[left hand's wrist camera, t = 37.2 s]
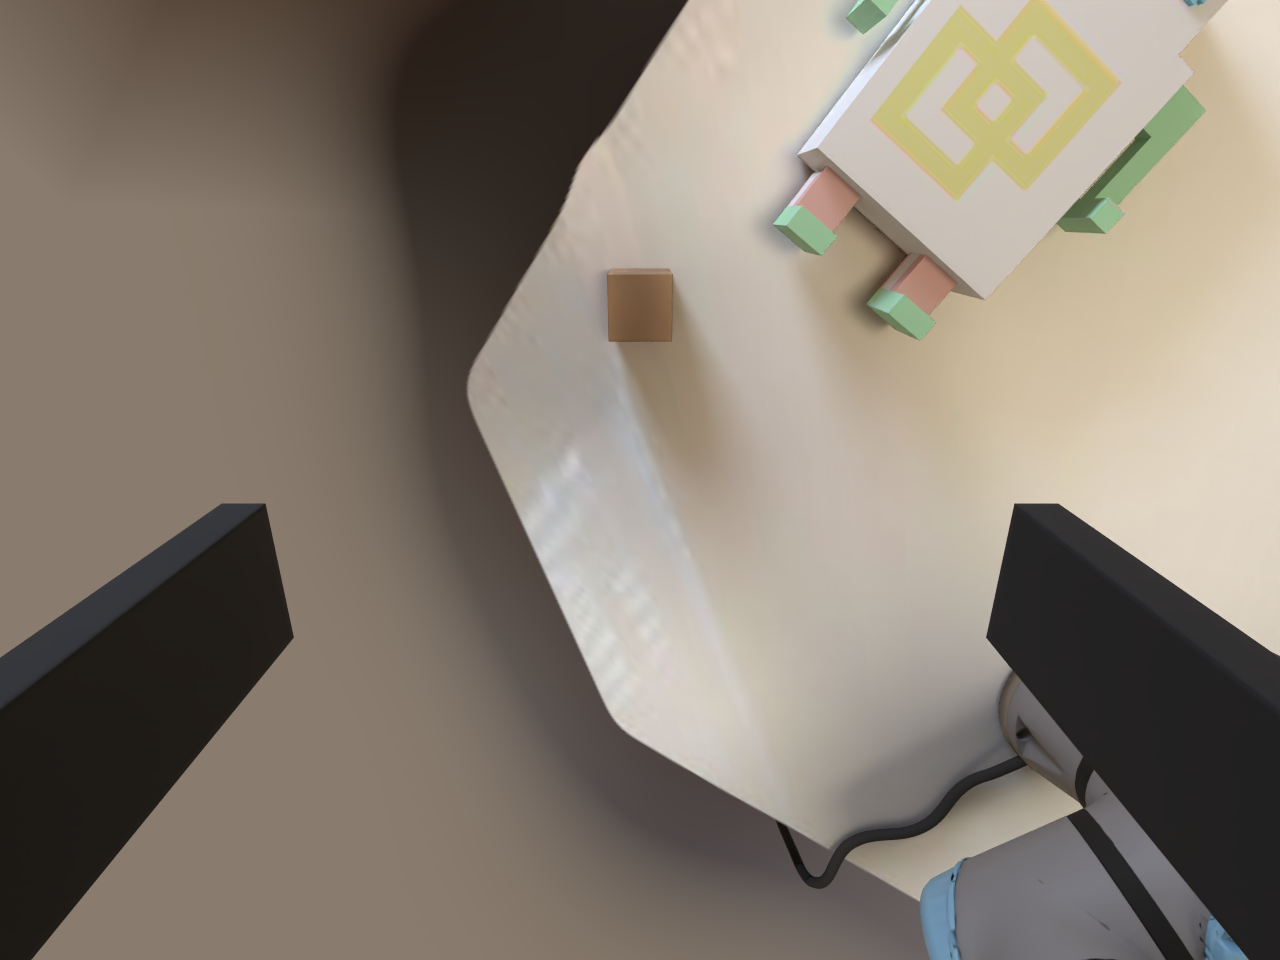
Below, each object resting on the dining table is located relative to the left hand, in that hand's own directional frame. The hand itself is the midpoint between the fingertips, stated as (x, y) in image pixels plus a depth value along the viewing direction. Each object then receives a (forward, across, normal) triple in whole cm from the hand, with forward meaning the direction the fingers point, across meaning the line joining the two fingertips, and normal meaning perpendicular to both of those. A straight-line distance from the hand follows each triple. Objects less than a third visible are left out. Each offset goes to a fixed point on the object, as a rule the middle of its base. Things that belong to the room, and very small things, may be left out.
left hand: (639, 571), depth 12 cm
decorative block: (+40, -21, -12) cm, 46 cm away
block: (+40, 0, 0) cm, 40 cm away
